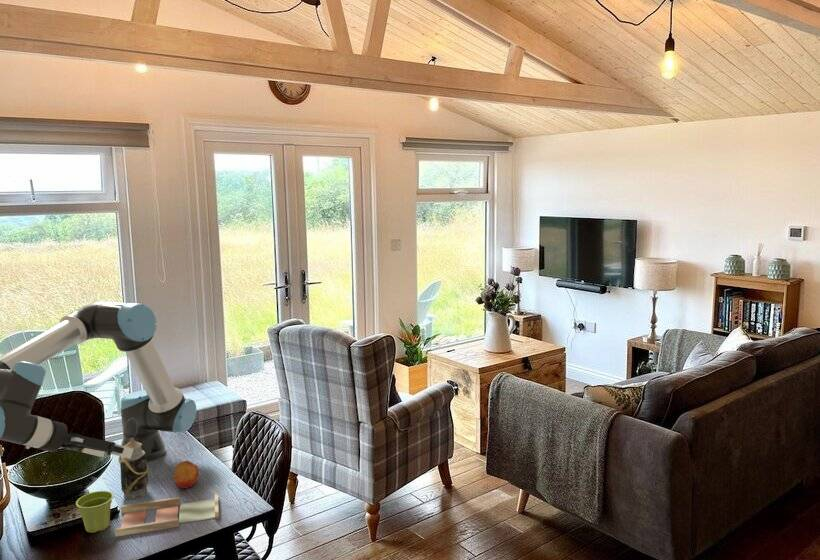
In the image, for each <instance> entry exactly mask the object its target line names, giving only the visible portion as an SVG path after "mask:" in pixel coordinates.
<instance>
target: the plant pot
mask: <svg viewBox="0 0 820 560" xmlns="http://www.w3.org/2000/svg"><path fill="white" fill-rule="evenodd" d="M113 498H114V494H113V493H112V492H111V491H108V490H99V491H98V490H97V491H92V492H89V493H86V494H85V495H82V496H81V497H79V498H78V499H77V500H76V501H75V505H76V507H77V508H78V510H79V511H80V514H81V518H82V521H83V526H84V529H85V531H86V532H87V533H91V534H92V533H96V532H99V531H100V532H101V531H104V530H106V529H107V528H108V527H109V526H110V521H111V520H110V519H111V504H112V500H113Z"/></svg>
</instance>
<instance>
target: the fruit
mask: <svg viewBox="0 0 820 560" xmlns="http://www.w3.org/2000/svg"><path fill="white" fill-rule="evenodd" d="M173 471H174V472H173V480H174V482H175V485H176V486H178V487H179V488H180V489H188V488H190V487H192V486H194V484H195V483H196V482H197V481H198V478H199V468H198V466H197V465H196V464H194V463H193V462H191V461H188V460H185V461H184V460H183V461H181V462H179V463H178V464H177V465H176V467H175V468H174V470H173Z"/></svg>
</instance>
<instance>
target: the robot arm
mask: <svg viewBox="0 0 820 560" xmlns="http://www.w3.org/2000/svg"><path fill="white" fill-rule="evenodd" d="M156 323H157V318H156V315H155V313H154V311H153V309H152V308H150V307H149V306H148V305H146V304H143V303H138V302H134V301H130V302H124V301H123V302H121V301H107V300H106V301H105V300H104V301H98V302H97V301H95V302H92V303H90V304H89V303H88V304H87V305H84V306H82V307H80V308H77V309H75V310H74V311H71V312H69V313H68V314H66V315H64V316H63V317H61V318H60V319H59V322H58V323H57V324H55V325H54V326H52V327H50V328H48V329H47V330H45V331H43V332H41V333H39V334H38V335H35V336H34V337H32V338H30V339H29V340H27V341H26V342H23V343H22V344H19V345H18V346H16V347H15V348H13V349H11V350H9V351H8V352H6V353H4V354H2V355H1V356H0V441H4V442H9V443H12V444H18V445H23V446H25V449H27V450H29V449H30V448H35V449H39V450H42V451H47V452H51V453H54V452H56V451H58V450H60V448H61V449H66V450H70V451H72V452H74V451H76V452H78V453H79V452H80V453H84V454H88V455H90V456H91V455H92V456H95V457H100V458H104V456H105V454H106V453H107V456H111V455H113V456H118V458H119V457H120V456H121V457H125V458H129V459H130V458H131V455H132V452H133V448H129V447H125V446H124V445H126V444H127V443H128V442H129V440H130V438H133V437H134V435H135V433H136V430H137V433H136V435H135V437H134V438H133V439H134V441H136V442H139V443H142V445H141V449H142V450H144V452H145V454H144V455H145V456H146V461H147V463H148V462H150V461H154V460H157V459H159V458H160V457H162V456H163V455H164V454H165V453H166V446H165V443H164V440H163V439H162V436H161V434H160V432H159V431H162V432H168V433H174V434H175V433H185V432H187V431H188V430H189V429H190V428H191V427H192V425H193V424H194V423H195V419H196V414H197V404H196V402H195V400H193V399H191V398H186V397H185V395H184V394H183V391H182V390H181V389H180V388H178V387H175V386H174V383H173V381H172V380H171V377H170V375H169V373H168V371H167V369H166V367H165V365H164V363H163V361H162V358H161V356H160V354H159V352H158V349H157V347H156V346H155V343H154V342H153V339H154V336H155V333H156V330H157V325H156ZM92 339H107V340H108V339H109V340H112V341H113V342H114V344H115V346H116V348H117V349H118V350H119V351H120V352H122V353H125V354H126V356H127V357H128V360H129V362H130V364H131V365H132V367H133V370H134V371H135V373H136V375H137V378H138V379H139V380H140V383H141V385H142V387H143V389H142V390H138V391H137V390H136V391H133V392H131V393H128V394H126V395H124V396H123V397H122V398H121V400H120V416H121V426H122V436H123V437H122V440H121V444H117V443H116V442H114V441H107V440H104V439H98V438H94V437H90V436H86V435H81V434H79V433H77V432H68V426H67V424H65V423H63V422H59V421H56V420H52V419H49V418H46V417H42V416H39V415H33V414H31V411H32V409H33V407H34V404H35V402H36V399H37V397H38V394H39V393H40V390H41V387H42V386H43V382H44V379H45V376H46V373H47V370H46V369H45V367H44V366H42V365H43V364H44V363H45V362H47V361H48V360H50V359H52V358H54V357H56V356H57V355H58V354H61V353H62V352H63V351H65V350H66V349H68V348H70V347H71V346H73V345H76V344H77V345H78V344H79V345H80V344H82V343H83V344H84V342H86V341H88V340H92ZM130 418H134V419H136V421H137V423H136V421H135V420H134V419H130ZM129 419H130V420H129ZM128 420H129V421H128ZM127 421H128V422H127ZM126 422H127V424H126ZM125 424H126V427H125ZM137 424H138V429H137ZM124 427H125V437H126V438H127V439H128V440H126V439H125V437H124ZM133 439H132V440H133Z"/></svg>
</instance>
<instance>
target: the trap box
mask: <svg viewBox="0 0 820 560" xmlns="http://www.w3.org/2000/svg"><path fill="white" fill-rule="evenodd" d="M153 509H154V510H155V509H156V514H155V519H154V521H153V522H148V523H145V522H146V515H147V510H153ZM219 509H220V507H219V493H218V492H214V498H211V499H206V500H198V501H191V502H187V503H185V502H184V503H181V496H177V497H170V498H169V497H168V498H163V499H156V500H150V501H143V502H138V503H137V502H136V503H129V504H124V505H123V504H122V505H120V514H123V518H122V520H121V524H120V525H121V526H120V527H115V528H114V538H117V537H124V536H129V535H134V534H140V533H141V534H142V533H147V532H148V533H149V532H153V531H159V530H160V531H161V530H167V529H173V528H178V527H179V526H180V524H181V525H182V524H186V523H187V524H188V523H194V522H199V521H205V520H212V519H215V520H217V519H220V514H219V513H220V512H219ZM178 515H179V517H178Z"/></svg>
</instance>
